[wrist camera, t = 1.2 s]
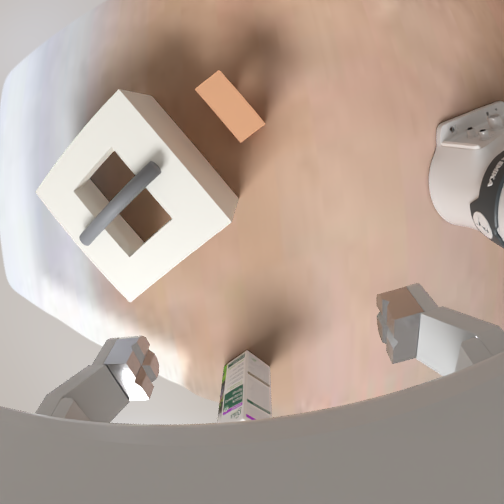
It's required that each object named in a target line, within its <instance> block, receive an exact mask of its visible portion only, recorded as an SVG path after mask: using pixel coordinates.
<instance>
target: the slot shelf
mask: <svg viewBox="0 0 504 504" xmlns="http://www.w3.org/2000/svg"><path fill="white" fill-rule="evenodd" d="M114 150H115V152H116V153H117V154H118V155H119V156H120V158H121V159H122V160H123V161H124V162H125V164H126V165H127V166H128V167H129V168H130V170H131V171H132V172H133V173H134V174H135V176H134V177H133V178H132V179H131V180H130V181H129V182H128V183H127V184H126V185H125V186H124V187H123V188H122V190H121V191H120V192H119V193H118V194H117V195H116V196H115V197H114V198H113V199H112V200H111V201H110V202H109V201H108V200H107V199H106V197H105V196H104V195H103V194H102V193H101V191H100V190H99V189H98V188H97V187H96V185H95V184H94V183H93V182H92V180H91V179H90V177H91V176H92V175H93V174H94V172H95V171H96V170H97V169H98V168H99V167H100V166H101V165H102V163H103V162H104V161H105V160H106V159H107V158H108V157H109V156H110V155H111V154H112V153H113V151H114ZM145 188H146V189H147V190H148V191H149V192H150V193H151V194H152V196H153V197H154V198H155V199H156V200H157V201H158V203H159V204H160V205H161V206H162V207H163V208H164V209H165V211H166V212H167V213H168V214H169V215H170V216H171V218H172V219H171V220H169V221H168V222H167V223H166V224H165V225H164V226H163V227H161V228H160V229H159V230H158V231H157V232H156V233H155V234H153V235H152V236H151V237H150V238H149V239H148V240H147V241H146V242H145V243H144V242H143V240H142V239H141V238H140V237H139V236H138V235H137V234H136V233H135V231H134V230H133V229H132V228H131V227H130V226H129V225H128V223H127V222H126V221H125V220H124V219H123V218H122V216H121V215H120V214H119V213H120V212H121V211H122V210H123V209H124V208H125V207H126V206H127V205H128V204H129V203H130V202H131V201H132V200H133V199H134V198H135V197H136V196H137V195H138V194H139V193H140V192H141V191H142V190H144V189H145ZM36 194H37V195H38V196H39V198H40V199H41V200H42V202H43V203H44V204H45V206H46V207H47V208H48V209H49V211H50V212H51V213H52V215H53V216H54V217H55V218H56V220H57V221H58V222H59V223H60V225H61V226H62V227H63V228H64V230H65V231H66V232H67V233H68V234H69V236H70V237H71V238H72V239H73V240H74V242H75V243H76V244H77V245H78V246H79V248H80V249H81V250H82V251H83V252H84V253H85V254H86V256H87V257H88V258H89V259H90V260H91V261H92V262H93V264H94V265H95V266H96V267H97V268H98V269H99V270H100V271H101V272H102V274H103V275H104V276H105V277H106V278H107V279H108V280H109V281H110V282H111V283H112V284H113V285H114V286H115V288H116V289H117V290H118V291H119V292H120V293H121V294H122V295H123V296H124V297H125V298H126V299H127V300H128V301H129V302H131V301H133V300H134V299H135V298H136V297H138V296H139V295H140V294H141V293H142V292H144V291H145V290H146V289H147V288H149V287H150V286H151V285H152V284H154V283H155V282H156V281H157V280H158V279H160V278H161V277H162V276H163V275H165V274H166V273H167V272H168V271H170V270H171V269H172V268H173V267H175V266H176V265H177V264H178V263H180V262H181V261H182V260H184V259H185V258H186V257H187V256H189V255H190V254H191V253H192V252H194V251H195V250H196V249H198V248H199V247H200V246H201V245H203V244H204V243H205V242H206V241H208V240H209V239H210V238H212V237H213V236H214V235H216V234H217V233H218V232H219V231H221V230H222V229H223V228H225V227H226V226H227V225H229V224H230V223H231V222H232V219H233V216H234V213H235V210H236V207H237V203H238V200H239V198H238V197H237V196H236V195H235V193H234V192H233V191H232V190H231V189H230V187H229V186H228V185H227V184H226V182H225V181H224V180H223V179H222V178H221V176H220V175H219V174H218V173H217V172H216V171H215V169H214V168H213V167H212V166H211V165H210V163H209V162H208V161H207V160H206V159H205V157H204V156H203V155H202V154H201V153H200V151H199V150H198V149H197V148H196V147H195V146H194V144H193V143H192V142H191V141H190V140H189V139H188V137H187V136H186V135H185V134H184V133H183V131H182V130H181V129H180V128H179V127H178V126H177V124H176V123H175V122H174V121H173V120H172V119H171V117H170V116H169V115H168V114H167V113H166V112H165V111H164V109H163V108H162V107H161V106H160V105H159V104H158V102H157V101H156V100H155V99H154V98H153V97H152V96H151V95H146V94H142V93H137V92H132V91H126V90H121V89H118V90H117V92H116V93H115V94H114V95H113V96H112V97H111V98H110V99H109V100H108V101H107V102H106V103H105V104H104V105H103V106H102V107H101V109H100V110H99V111H98V112H97V113H96V114H95V115H94V116H93V117H92V119H91V120H90V121H89V122H88V123H87V124H86V126H85V127H84V128H83V129H82V130H81V131H80V133H79V134H78V135H77V136H76V138H75V139H74V140H73V141H72V142H71V144H70V145H69V146H68V148H67V149H66V150H65V151H64V153H63V154H62V155H61V157H60V158H59V159H58V161H57V162H56V163H55V165H54V166H53V167H52V169H51V170H50V172H49V173H48V174H47V176H46V177H45V179H44V180H43V182H42V183H41V184H40V186H39V187H38V189H37V190H36Z"/></svg>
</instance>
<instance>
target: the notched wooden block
mask: <svg viewBox="0 0 504 504" xmlns="http://www.w3.org/2000/svg"><path fill="white" fill-rule="evenodd" d="M195 90H196V91H197V93H198V94H199V95H200V96H201V97H202V98H203V99H204V101H205V102H206V103H207V104H208V105H209V106H210V108H211V109H212V110H213V111H214V112H215V113H216V115H217V116H218V117H219V118H220V119H221V120H222V122H223V123H224V124H225V125H226V126H227V128H228V129H229V130H230V131H231V132H232V133H233V135H234V136H235V137H236V138H237V140H238V141H239V142H240V143H241V142H243V141H244V140H245V139H247V138H248V137H249V136H250V135H252V134H253V133H254V132H256V131H257V130H258V129H260V128H261V127H262V126H264V125H265V123H264V121H263V120H262V119H261V118H260V117H259V115H258V114H257V113H256V112H255V111H254V109H253V108H252V107H251V106H250V105H249V103H248V102H247V101H246V100H245V99H244V97H243V96H242V95H241V94H240V93H239V92H238V90H237V89H236V88H235V87H234V86H233V85H232V84H231V82H230V81H229V80H228V79H227V78H226V77H225V76H224V74H223V73H222V72H221V71H220V70H218V71H217V72H215V73H214V74H213V75H212V76H210V77H209V78H208V79H207V80H205V81H204V82H203V83H202V84H200V85H199V86H198V87H197V88H195Z"/></svg>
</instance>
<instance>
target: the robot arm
mask: <svg viewBox="0 0 504 504" xmlns="http://www.w3.org/2000/svg"><path fill="white" fill-rule="evenodd" d="M450 127H451V128H452V131H450ZM436 142H437V146H436V151H435V154H434V156H433V159H432V162H431V166H430V172H429V190H430V195H431V199H432V202H433V204H434V207H435V208H436V210H437V212H438V213H439V214H440V216H441V217H442V218H443V219H444V220H446V221H447V222H449V223H451V224H453V225H457V226H464V227H469V228H472V229H475V230H478V231H480V232H481V233H483V234H484V235H485V236H486V237H487V238H489V239H490V240H491V241H493V242H494V243H496V244H497V245H499V246H501V247H502V248H504V102H502V101H497V102H494V103H491V104H489V105H486V106H484V107H481V108H478V109H476V110H473V111H471V112H468V113H465V114H463V115H460V116H458V117H455V118H453V119H450V120H448V121H445V122H443V123H441V124H439V125H438V127H437V133H436ZM377 307H378V309H379V310H380V312H379V314H378V315H377V325H378V331H379V335H380V338H381V340H382V342H383V343H385V344H387V348H386V351H387V353H388V355H389V357H390V360H391V362H392V364H394V363H398V362H402V361H406V360H410V359H413V358H416V359H417V360H419V361H420V362H422V363H423V364H425V365H427V366H428V367H430V368H431V369H433V370H434V371H436V372H437V373H439V374H440V375H442V376H443V377H440V378H437V379H434V380H431V381H428V382H425V383H422V384H419V385H416V386H413V387H410V388H407V389H404V390H400V391H397V392H394V393H390V394H387V395H383V396H379V397H376V398H372V399H368V400H364V401H360V402H355V403H351V404H347V405H342V406H337V407H332V408H327V409H322V410H317V411H312V412H306V413H300V414H293V415H287V416H280V417H273V418H265V419H256V420H247V421H236V422H224V423H209V424H184V425H145V424H119V423H110V422H111V421H112V420H113V419H114V418H115V417H116V415H117V414H118V413H119V412H120V411H121V410H122V409H123V408H124V407H125V406H126V405H127V404H128V403H129V400H149V399H150V396H151V393H152V390H153V387H154V386H153V384H152V382H153V381H154V380H155V379H156V378H157V376H158V373H159V363H158V360H157V358H156V356H155V354H154V353H153V352H151V351H150V350H149V346H150V344H149V342H148V341H147V339H146V337H144V336H133V337H121V338H111V339H108V340H107V341H106V342H105V344H104V346H103V347H102V349H101V351H100V352H99V354H98V356H97V357H96V359H95V360H94V362H93V364H92V365H88V366H87V367H86V368H84V369H83V370H81V371H80V372H78V373H77V374H76V375H74V376H73V377H71V378H70V379H69V380H67V381H66V382H65V383H63V384H61V385H60V386H59V387H57V388H56V389H54V390H53V391H52V392H50V393H49V394H47V395H46V397H45V398H44V400H43V402H42V403H41V405H40V406H39V408H38V410H37V411H36V413H29V412H24V411H19V410H15V409H10V408H5V407H1V406H0V504H504V331H503V330H502V329H501V328H500V327H499V326H497V325H494V324H491V323H489V322H486V321H483V320H480V319H477V318H475V317H472V316H469V315H466V314H463V313H460V312H457V311H455V310H452V309H449V308H446V307H443V306H442V307H438V305H437V304H436V303H435V302H434V300H433V299H432V298H431V297H430V296H429V294H428V293H427V292H426V291H425V290H424V288H423V287H422V286H421V285H420V284H419V283H416V284H412V285H409V286H406V287H403V288H399V289H396V290H392V291H388V292H384V293H381V294H377Z"/></svg>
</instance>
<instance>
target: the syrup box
mask: <svg viewBox="0 0 504 504" xmlns="http://www.w3.org/2000/svg"><path fill="white" fill-rule="evenodd" d="M265 418H272V404H271V377H270V367H269V366H268V365H267V364H266V363H264V362H263V361H262V360H260V359H259V358H257V357H256V356H255V355H253V354H252V353H251V352H249V351H248V350H246V351H245V352H244V353H242V354H241V355H239V356H238V357H236V358H235V359H234V360H232V361H231V362H229V363H228V364H227V365H225V366H224V371H223V379H222V388H221V395H220V403H219V413H218V420H217V423H224V422H236V421H247V420H256V419H265Z"/></svg>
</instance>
